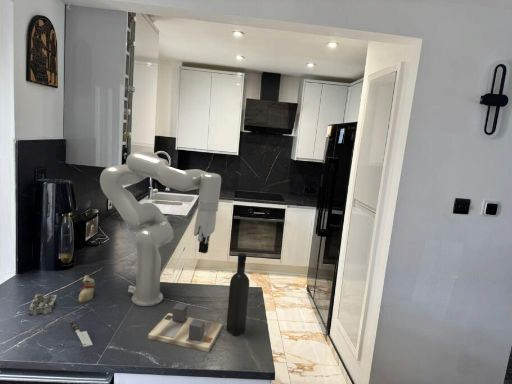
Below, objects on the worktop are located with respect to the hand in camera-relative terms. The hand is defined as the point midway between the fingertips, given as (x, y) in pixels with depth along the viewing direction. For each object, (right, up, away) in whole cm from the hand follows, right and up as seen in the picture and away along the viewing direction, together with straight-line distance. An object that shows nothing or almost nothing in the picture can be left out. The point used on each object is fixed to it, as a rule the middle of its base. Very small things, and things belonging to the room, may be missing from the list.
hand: (203, 252), depth 129 cm
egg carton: (-61, -22, 0) cm, 65 cm away
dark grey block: (-8, -25, -3) cm, 26 cm away
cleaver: (-39, -26, -13) cm, 49 cm away
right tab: (0, -27, -13) cm, 30 cm away
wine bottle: (+13, -29, -4) cm, 32 cm away
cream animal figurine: (-50, -21, +9) cm, 55 cm away
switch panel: (-5, -28, -8) cm, 29 cm away
